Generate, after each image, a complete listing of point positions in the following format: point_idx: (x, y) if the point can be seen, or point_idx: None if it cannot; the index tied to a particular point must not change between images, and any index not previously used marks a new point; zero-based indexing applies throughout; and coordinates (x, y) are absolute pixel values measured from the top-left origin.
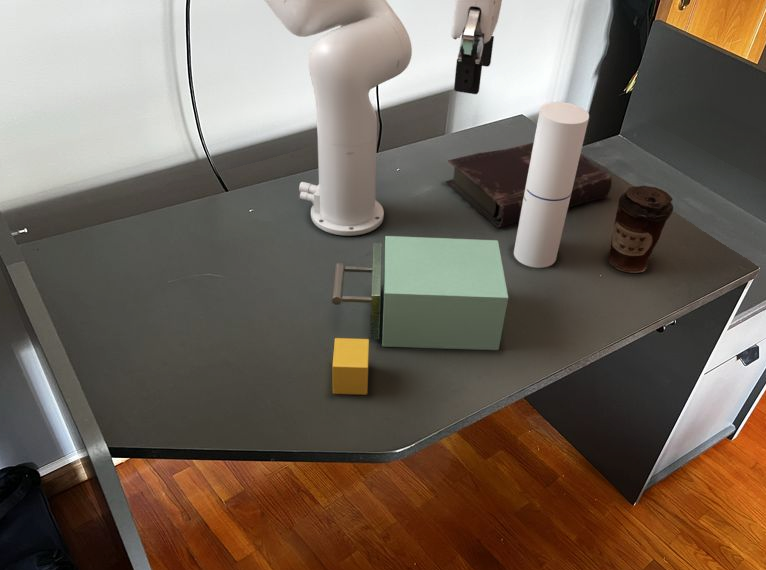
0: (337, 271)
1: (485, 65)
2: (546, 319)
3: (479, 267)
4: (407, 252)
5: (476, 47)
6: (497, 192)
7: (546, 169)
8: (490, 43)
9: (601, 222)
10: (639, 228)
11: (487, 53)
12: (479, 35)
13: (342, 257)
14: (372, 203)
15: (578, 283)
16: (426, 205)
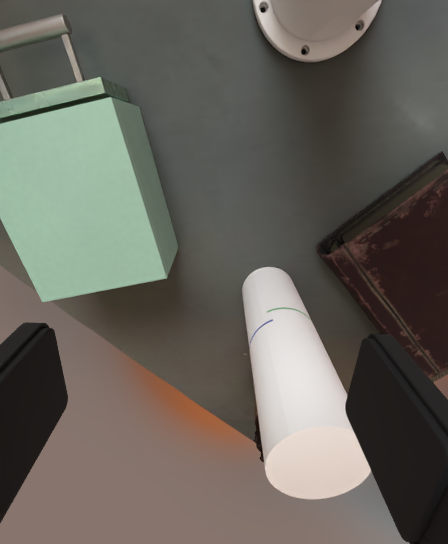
0: (39, 24)
1: (346, 400)
2: (150, 308)
3: (90, 261)
4: (78, 149)
5: (395, 426)
6: (367, 246)
7: (256, 373)
8: (394, 510)
9: (352, 354)
10: (256, 423)
11: (369, 450)
12: (446, 502)
13: (193, 14)
14: (311, 31)
15: (224, 335)
16: (370, 130)
